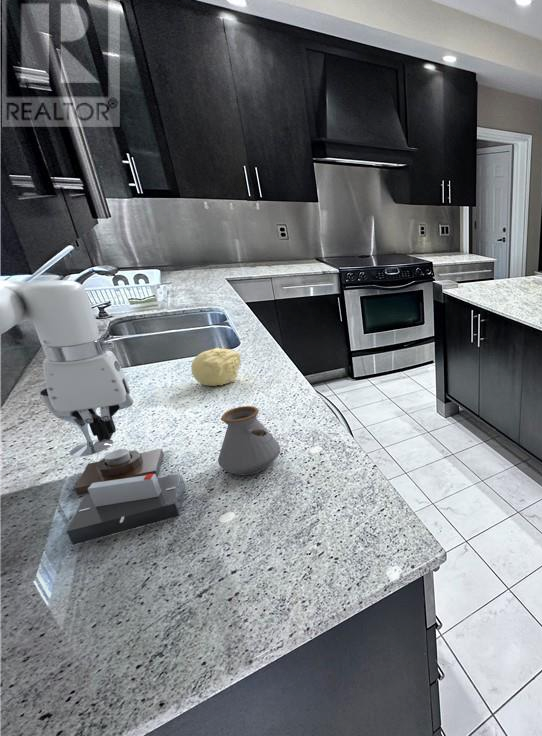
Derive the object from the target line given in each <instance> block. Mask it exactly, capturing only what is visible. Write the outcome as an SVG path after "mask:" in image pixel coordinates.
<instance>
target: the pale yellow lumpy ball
mask: <svg viewBox="0 0 542 736" xmlns="http://www.w3.org/2000/svg"><path fill="white" fill-rule="evenodd" d="M241 362H242V361H241V355H240V353H239V352H236V351H235V350H233V349H231V348H221V347H215V348H211V349H207V350H204V351H202V352H200V353H199V354H197V355H196V356H195V357H194V358H193V360H192V362H191V366H190V371H191V374H192V376H193V378H194V379H195V381H196V382H198V383H199V384H201V385H205V386H209V387H210V386H211V387H218V386H217V385H220V386H224V385H223V384H225V385H227V384H226V383H228V382H230V383H232V382H233V381H234V380H236V378H237V377H238V375H239V374H238V373H239V368H240V365H241ZM231 381H232V382H231ZM228 384H229V383H228Z"/></svg>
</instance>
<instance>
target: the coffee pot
mask: <svg viewBox="0 0 542 736" xmlns="http://www.w3.org/2000/svg"><path fill="white" fill-rule="evenodd" d="M259 412H260V410H259V409H258V407H256V406H252V405H245V406H237V407H235V408H232V409H229V410H227V411H226V412H224V413H223V414H222V416H221V417H220V421H222V422H224V424H226V425H227V428H226V431H225V434H224V437H223V440H222V441H223V442H222V443H221V447H220V450H219V455H218V457H217V458H218V459H217V462H218V463H217V464H218V465H219V467H220V468H222V469H223V470H224V471H226V472H229V473H230V474H231V473H232V474H235V475H237V476H238V475H239V476H248V475H253V474H258V473H259V472H262V471H264V470H266V469H267V468H268V467H269V466H271V465H272V463H274V462H275V460H276V459H277V458H278V456H279V453H280V451H281V450H280V449H281V446H280V444H279V442H278V441H277V440H276V439H275V438H274V436H273V435H272V433H271V432H269V431H268V429H267V428H266V427H265V426H264V425H263V424H262V422H260V421H259V419H258V418H257V416H258V414H259Z"/></svg>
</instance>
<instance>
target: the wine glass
mask: <svg viewBox="0 0 542 736" xmlns="http://www.w3.org/2000/svg"><path fill="white" fill-rule="evenodd" d="M39 395H40V397H41V399H42V401H43V404H44V405H45V406H46V408H47V409H48V411H49V412H50V413H51V414H52V415H53V416H54V417H55V418H58V419H59V420H62V421H65V422H68V423H70V424H73V425H75V426H76V427H78V428H79V429H80V432H82V434H83V436H84V438H85V441H86V442H83V443H80V444H79V445H76V446H75V447H72V449H70V451H69V455H70V456H72V457H86V456H91V455H94V454H98V453H101V452H103V451H105V450H107V449H109V448H110V447H111V446H112V445H113V444H114V440H112V438H110V439H108V440H106V439H104V440H102V441H98V439H94V440H92V437H91V435H90V431H89V426H88V425H89V424H87V423H85V422H84V421H83V420H81V419H78V418H76V417H73V416H71V417H59V416H56V414H55V409H54V408H53V406H52V404H51V402H50V399H49V395H48V392H47V388H43V389H42V390H41V391H40V392H39ZM94 410H95V412H97V410H98V408H94Z"/></svg>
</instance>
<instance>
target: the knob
mask: <svg viewBox="0 0 542 736" xmlns="http://www.w3.org/2000/svg"><path fill="white" fill-rule="evenodd" d="M88 491H89V493H88V494H90V496H91V498H92V500H93V503H94V505H95V507H98V506H104V505H111V504H117V503H123V502H129V501H135V500H142V499H148V498H154V497H158V496H159V495H160V493H161V492H162V491H161V488H160V485H159V482H158V477H156V474H147V475H145V476H138V477H131V478H124V479H117V480H111V481H104V482H97V483H92V484H91V485H90V487H89V488H88Z"/></svg>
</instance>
